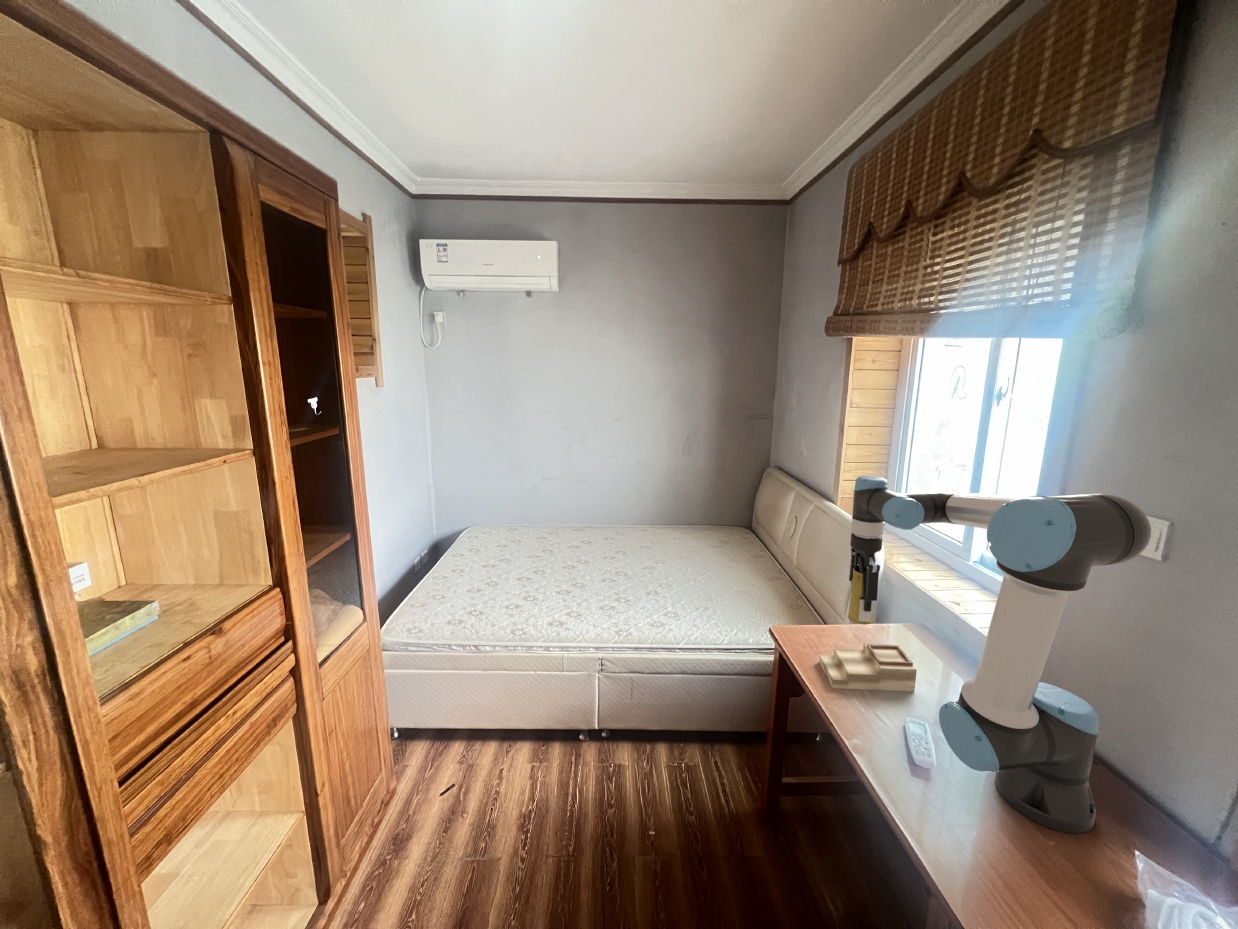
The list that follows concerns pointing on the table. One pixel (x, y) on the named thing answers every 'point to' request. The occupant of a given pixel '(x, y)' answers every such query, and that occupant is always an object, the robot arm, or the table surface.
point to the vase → (856, 598)
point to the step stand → (870, 668)
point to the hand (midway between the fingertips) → (860, 614)
